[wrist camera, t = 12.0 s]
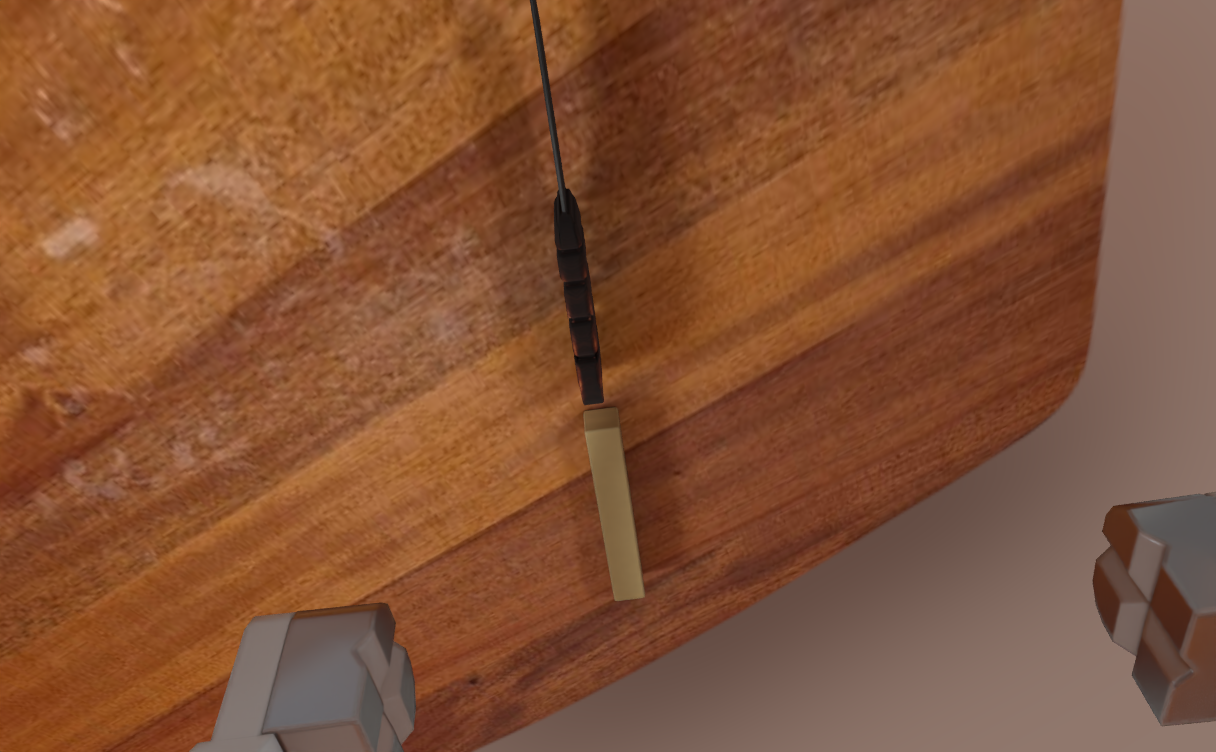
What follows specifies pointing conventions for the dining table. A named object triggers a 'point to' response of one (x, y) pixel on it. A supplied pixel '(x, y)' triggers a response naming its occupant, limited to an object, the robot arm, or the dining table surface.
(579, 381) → the knife
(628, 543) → the wooden stick
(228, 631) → the dining table surface
